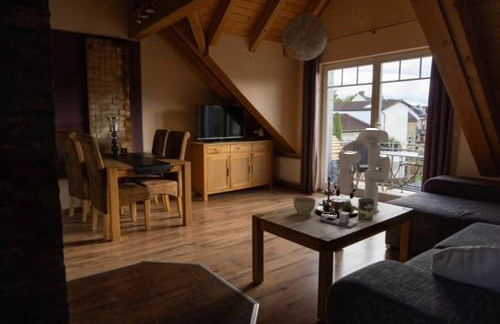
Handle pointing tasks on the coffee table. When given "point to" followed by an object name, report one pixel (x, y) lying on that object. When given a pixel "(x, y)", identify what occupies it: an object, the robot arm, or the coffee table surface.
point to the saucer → (328, 215)
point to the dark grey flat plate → (336, 222)
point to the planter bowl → (304, 205)
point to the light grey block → (344, 218)
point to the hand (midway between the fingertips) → (344, 197)
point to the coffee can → (365, 210)
